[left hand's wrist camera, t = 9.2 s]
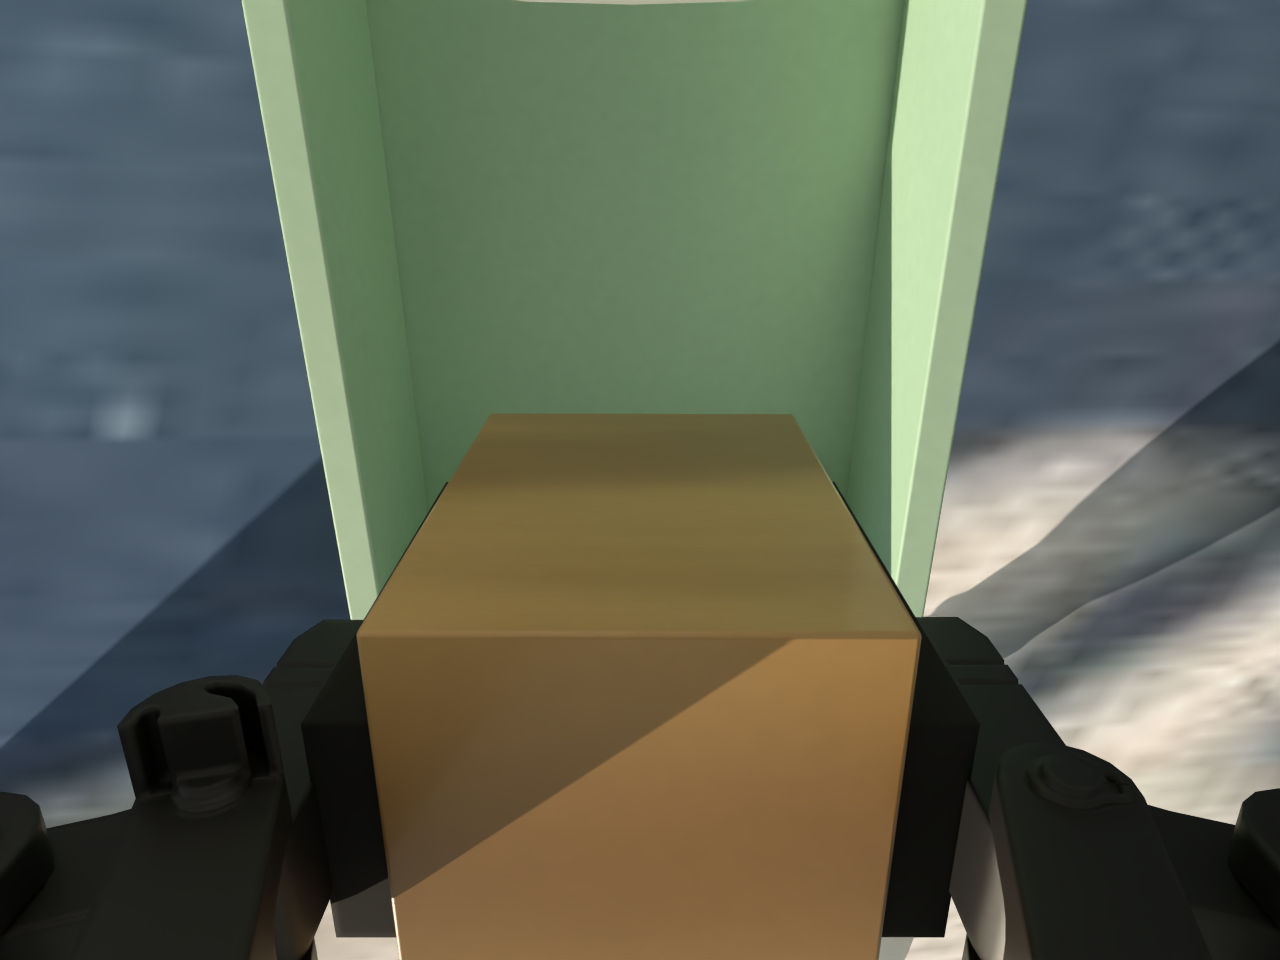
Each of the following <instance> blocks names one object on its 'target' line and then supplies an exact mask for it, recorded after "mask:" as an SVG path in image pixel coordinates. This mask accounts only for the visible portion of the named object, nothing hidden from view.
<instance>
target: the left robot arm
mask: <svg viewBox="0 0 1280 960" xmlns="http://www.w3.org/2000/svg"><path fill="white" fill-rule="evenodd" d="M832 483H833V484H834V486H835V488H836V490H837V491H838V493H839V495H840V496H841V498H842V500H843V502H844V503H845V505H846V507H847V508H848V510H849V512H850V513H851V515H852V517H853V519H854V520H855V522H856V524H857V525H858V527H859V529H860V531H861V532H862V534H863V536H864V537H865V539H866V541H867V542H868V544H869V546H870V548H871V549H872V551H873V553H874V554H875V556H876V558H877V560H878V561H879V563H880V565H881V566H882V568H883V570H884V571H885V573H886V575H887V577H888V578H889V580H890V582H891V583H892V585H893V587H894V589H895V590H896V592H897V594H898V595H899V597H900V599H901V600H902V602H903V604H904V606H905V607H906V609H907V611H908V612H909V614H910V616H911V618H912V619H913V621H914V623H915V624H916V626H917V628H918V629H919V631H920V633H921V636H922V638H921V646H920V653H919V661H918V668H917V676H916V683H915V691H914V698H913V706H912V713H911V721H910V728H909V736H908V743H907V751H906V758H905V766H904V773H903V781H902V788H901V796H900V804H899V811H898V819H897V826H896V834H895V841H894V849H893V856H892V864H891V871H890V879H889V886H888V894H887V901H886V909H885V916H884V924H883V931H882V937H944V936H945V930H946V924H947V918H948V912H949V906H950V900H951V896H952V899H953V901H954V904H955V906H956V908H957V911H958V913H959V915H960V918H961V920H962V923H963V925H964V927H965V930H966V932H967V935H966V940H965V946H964V951H963V957H962V960H1280V789H1279V788H1278V789H1271V790H1265V791H1258V792H1255V793H1253V794H1252V795H1251V796H1250V797H1249V798H1247V799H1246V800H1245V801H1244V802H1243V803H1242V806H1241V809H1240V812H1239V816H1238V819H1237V822H1236V825H1232V824H1228V823H1223V822H1218V821H1214V820H1209V819H1204V818H1200V817H1195V816H1190V815H1186V814H1181V813H1177V812H1172V811H1168V810H1164V809H1161V808H1157V807H1154V806H1150V805H1147V803H1146V800H1145V798H1144V796H1143V795H1142V794H1141V792H1140V791H1139V789H1138V788H1137V787H1136V785H1135V784H1134V782H1133V781H1132V780H1131V779H1130V778H1129V777H1128V776H1126V775H1125V774H1124V773H1123V772H1121V771H1120V770H1119V769H1117V768H1116V767H1115V766H1113V765H1112V764H1111V763H1109V762H1107V761H1105V760H1103V759H1101V758H1099V757H1097V756H1094V755H1092V754H1090V753H1088V752H1086V751H1084V750H1080V749H1076V748H1072V747H1068V746H1066V745H1065V744H1064V742H1063V741H1062V739H1061V738H1060V737H1059V735H1058V734H1057V732H1056V731H1055V730H1054V728H1053V727H1052V726H1051V724H1050V723H1049V721H1048V720H1047V719H1046V717H1045V716H1044V715H1043V713H1042V712H1041V710H1040V709H1039V708H1038V706H1037V705H1036V704H1035V702H1034V701H1033V699H1032V698H1031V697H1030V695H1029V694H1028V692H1027V691H1026V690H1025V688H1024V687H1023V686H1022V684H1018V679H1017V677H1016V676H1015V675H1014V673H1013V672H1012V670H1011V669H1010V668H1009V666H1008V665H1004V659H1003V658H1002V657H1001V655H1000V654H999V653H998V651H997V650H996V648H995V647H994V646H993V644H992V643H991V641H990V640H989V639H988V637H986V636H985V635H984V634H982V633H981V632H979V631H978V630H976V629H975V628H973V627H972V626H970V625H969V624H967V623H966V622H964V621H963V620H961V619H960V618H958V617H915V615H914V614H913V612H912V610H911V609H910V607H909V605H908V604H907V602H906V600H905V599H904V597H903V595H902V594H901V592H900V590H899V589H898V587H897V585H896V584H895V582H894V580H893V579H892V577H891V575H890V574H889V572H888V570H887V569H886V567H885V565H884V564H883V562H882V560H881V559H880V557H879V555H878V554H877V552H876V550H875V549H874V547H873V545H872V544H871V542H870V540H869V539H868V537H867V535H866V534H865V532H864V530H863V529H862V527H861V525H860V524H859V522H858V520H857V519H856V517H855V515H854V514H853V512H852V510H851V509H850V507H849V505H848V504H847V502H846V500H845V499H844V497H843V495H842V494H841V492H840V490H839V489H838V487H837V485H836V484H835V482H832ZM447 484H448V482H446V483H445V485H444V487H443V488H442V490H441V492H440V493H439V495H438V497H437V498H436V500H435V502H434V503H433V505H432V507H431V508H430V510H429V512H428V513H427V515H426V517H425V518H424V520H423V522H422V523H421V525H420V527H419V528H418V530H417V532H416V533H415V535H414V537H413V538H412V540H411V542H410V543H409V545H408V547H407V548H406V550H405V552H404V553H403V555H402V557H401V558H400V560H399V562H398V563H397V565H396V567H397V566H398V564H399V563H400V561H401V559H402V558H403V556H404V554H405V553H406V551H407V549H408V548H409V546H410V545H411V543H412V541H413V540H414V538H415V536H416V535H417V533H418V531H419V530H420V528H421V527H422V525H423V523H424V522H425V520H426V518H427V517H428V515H429V514H430V512H431V510H432V509H433V507H434V505H435V504H436V502H437V500H438V499H439V497H440V496H441V494H442V492H443V491H444V489H445V487H446V486H447ZM396 567H395V568H394V570H393V572H394V571H395V569H396ZM393 572H392V573H391V575H390V577H391V576H392V574H393ZM390 577H389V578H388V580H387V582H388V581H389V579H390ZM387 582H386V583H385V585H386V584H387ZM385 585H384V587H385ZM384 587H383V588H382V590H383V589H384ZM382 590H381V592H382ZM381 592H380V593H379V595H380V594H381ZM379 595H378V597H379ZM378 597H377V598H376V600H377V599H378ZM376 600H375V602H376ZM375 602H374V603H375ZM374 603H373V605H374ZM373 605H372V607H373ZM372 607H371V608H372ZM371 608H370V610H371ZM370 610H369V612H370ZM369 612H368V613H369ZM368 613H367V615H368ZM367 615H366V617H367ZM366 617H365V618H366ZM365 618H364V620H365ZM364 620H322V621H321V622H320V623H318V624H317V625H315V626H314V627H312V628H311V629H309V630H308V631H306V632H305V633H303V634H302V635H300V636H299V637H297V638H296V639H294V640H293V642H292V643H291V645H290V646H289V647H288V649H287V650H286V652H285V653H284V654H283V656H282V657H281V658H280V660H279V661H278V663H277V668H273V670H272V671H271V672H270V674H269V675H268V677H267V678H266V679H265V681H264V682H263V685H262V684H261V683H260V682H259V681H258V680H254V679H250V678H245V677H241V676H237V675H234V676H209V677H205V678H200V679H196V680H191V681H187V682H182V683H180V684H177V685H175V686H172V687H170V688H167V689H165V690H163V691H160V692H158V693H155V694H153V695H152V696H150V697H149V698H147V699H146V700H144V701H143V702H141V703H140V704H138V705H137V706H135V707H134V708H132V709H131V710H130V711H129V712H128V714H127V715H126V716H125V717H124V718H123V720H122V721H121V722H120V723H119V724H118V726H117V727H118V731H119V735H120V739H121V743H122V747H123V751H124V754H125V758H126V762H127V766H128V770H129V774H130V778H131V782H132V785H133V789H134V793H135V797H136V800H135V802H134V804H133V807H132V809H129V810H126V811H122V812H119V813H115V814H112V815H107V816H102V817H98V818H93V819H89V820H84V821H79V822H75V823H70V824H65V825H61V826H56V827H52V828H47V829H46V826H45V823H44V819H43V816H42V813H41V810H40V806H39V805H38V804H36V803H35V802H34V801H33V800H31V799H30V798H29V797H28V796H27V795H20V794H13V793H7V792H0V960H318V958H317V951H316V946H315V940H314V936H315V933H316V931H317V929H318V926H319V924H320V921H321V919H322V917H323V914H324V912H325V910H326V907H327V905H328V902H329V900H330V902H331V908H332V914H333V920H334V926H335V932H336V937H396V931H395V923H394V915H393V908H392V900H391V893H390V885H389V878H388V870H387V863H386V855H385V847H384V840H383V832H382V825H381V817H380V810H379V802H378V794H377V787H376V779H375V772H374V764H373V757H372V749H371V742H370V734H369V726H368V719H367V711H366V704H365V696H364V689H363V681H362V673H361V666H360V658H359V651H358V643H357V636H356V635H357V632H358V630H359V628H360V626H361V625H362V623H363V621H364Z"/></svg>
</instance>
